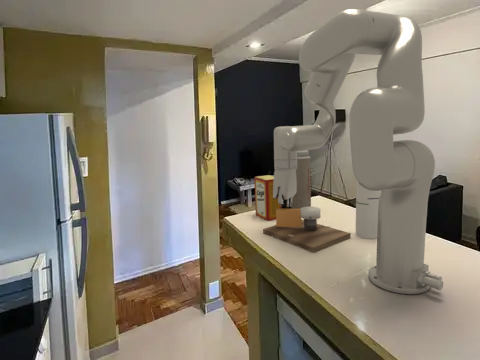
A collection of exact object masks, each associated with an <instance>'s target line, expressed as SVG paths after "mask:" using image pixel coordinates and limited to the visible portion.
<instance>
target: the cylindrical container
mask: <svg viewBox="0 0 480 360" xmlns="http://www.w3.org/2000/svg"><path fill="white" fill-rule="evenodd" d="M355 183H356V187H355V188H356V191H355V193H356V195H355V196H356V197H355V236H356V237H358V238H361V239H367V240H375V239H376V240H377V227H378V204H379V198H380V194H381V191H382V190H381V191H371V190H368V189H365V188H364V187H362V186H361V185H360V184H359V183H358V181H357V180H356V182H355Z"/></svg>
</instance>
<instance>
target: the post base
mask: <svg viewBox="0 0 480 360" xmlns="http://www.w3.org/2000/svg"><path fill="white" fill-rule="evenodd" d="M317 222H318V219H314V220H308V219H303V218H301V227H276V224H275V225H271V226H269V227H265V228H262V234H264V235H267V236H270V237H272V238H275V239H277V240H280V241H283V242H284V243H287V244H290V245H292V246H296V247H297V248H298V247H299V248H301V249H303V250H306V251H309V252H311V253H317V252H320V251H322V250H325V249H327V248H329V247H332V246H334V245H337V244H339V243H341V242H345V241H347V240H349V239H351V232H348V231H344V230H340V229H338V228H337V229H336V228H333V227H331V226H326V225H323V224H320V223H317Z"/></svg>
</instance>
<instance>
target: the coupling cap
mask: <svg viewBox="0 0 480 360" xmlns="http://www.w3.org/2000/svg"><path fill="white" fill-rule="evenodd" d="M320 218H321V208H320V207H317V206H311V207H302V208H301V209H283V208H276V220H275V221H276V222H275V223H276V224H275V225H276V227H301V219H303V220H304V219H308V220H314V219H317V220H318V219H320Z"/></svg>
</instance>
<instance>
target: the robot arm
mask: <svg viewBox="0 0 480 360" xmlns="http://www.w3.org/2000/svg"><path fill="white" fill-rule="evenodd" d="M298 53H299V54H298V63H299V66H300V67H301V69H302V70H303V71H305V72H310V74H311V75H310V76H309V77H310V78H309V79H308V82H307V83H306V87H305V88H304V96H305V98H306V99H307V100H308V101H309V102H310V103H311V104H312V105H314V106H316V107H317V108H319V111H318V112H319V113H318V115H317V117H316V120H315V122H314V123H313V124H305V125H293V126H291V125H290V126H289V125H285V126H281V125H280V126H277V127H275V128H274V129H273V161H274V162H273V163H274V172H273V176H274V182H273V198H274V199H277V198H278V204H280V206H281V208H283V209H292V208H291V205H292V198H293V196H294V195H295V194H296V191H297V179H296V169H297V151H302V150H308V151H310V150H318V149H320V148H322V147H323V146H325V144H326V143H327V142H328V140H329V138H330V137H331V134H332V132H333V130H334V129H335V125H336V121H337V120H336V117H337V116H336V113H337V112H336V108H335V100H336V98H337V95H338V94H339V92H340V90H341V88H342V86H343V83H344V81H345V79H346V77H347V76H348V73H349V71H350V69H351V66H352V65H353V63H354V60H355V58H356V55H369V56H370V55H371V56H380V59H379V60H378V64H377V68H376V82H377V83H376V84H377V85H376V87H370V88H367V89H365V90H363V91H362V92H360V93H359V94H358V95H357V96H356V97H355V99H354V100H353V102H352V104H351V107H350V110H349V115H348V118H349V119H348V127H349V128H348V129H349V138H350V152H351V153H350V155H351V166H352V171H353V174H354V177H355V180H356V182H357V181H358V183H359V184H360V185H361V186H362V187H364V188H365V189H368V190H371V191H381V194H380V198H379V204H378V227H377V238H376V260H375V261H376V262H375V263H376V264H375V265H374V266H372V267H370V268H369V270H368V278H369V280H370V282H372V283H373V284H374V285H376V286H377V287H379V288H381V289H384V290H386V291H389V292H393V293H397V294H406V295H417V294H422V293H425V292H428V290H430V288H432V289H435V290H437V291H442V289H443V288H444V281H443V280H442V279H443V277H442V276H440V275H438V274H433V273H431V271H429V267H430V265H429V264H426V263H425V247H426V234H427V233H426V232H427V231H426V230H427V217H428V202H429V197H430V196H429V195H430V189H431V185H432V181H433V178H434V173H435V169H436V164H435V163H436V161H435V157H434V153H433V152H432V150H431V149H430V148H429V147H428V146H427V145H426V144H424V143H423V142H420V141H418V140H412V139H411V140H410V139H409V140H408V139H404V140H402V139H401V140H394V136H396V135H402V134H407V133H412V132H414V131H416V130H417V129H419V128H420V126H422V124H423V122H424V119H425V112H426V111H425V108H426V107H425V91H424V90H425V89H424V75H423V64H422V59H423V57H422V56H423V35H422V30H421V28H420V26H419V25H418V23H417V22H416V21H415V20H414V19H412V18H410V17H408V16H405V15H404V16H403V15H399V14H393V13H387V12H386V13H385V12H380V11H371V10H366V9H359V8H349V9H348V8H347V9H345V10H343V11H340V12H338V13H336V14H335V15H334V16H333V17H331V18H330V19H329V20H328V21H326V22H325V23H323V24H322V25H321V26H319V27H318V28H317V29H315V31H313V32H312V33H311V34H310V35H309V36H308V37H307V38H306V39H305V40H304V42H302V45H301V47H300V50H299V52H298Z"/></svg>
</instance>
